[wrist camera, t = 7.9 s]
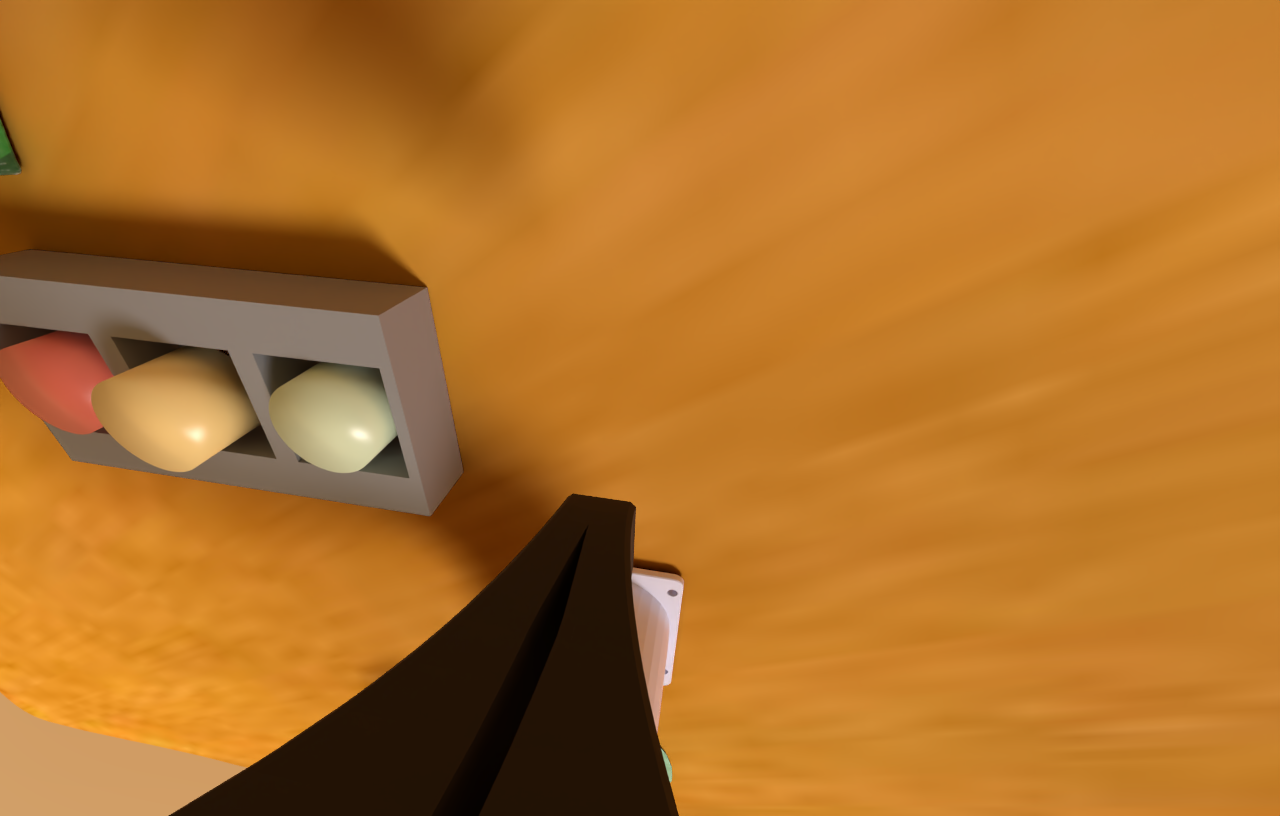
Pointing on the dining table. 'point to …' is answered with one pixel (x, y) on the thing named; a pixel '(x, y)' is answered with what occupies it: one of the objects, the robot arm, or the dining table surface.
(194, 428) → the ochre button
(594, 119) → the dining table surface
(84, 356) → the red button
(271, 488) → the grey compartment tray
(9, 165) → the chalk box
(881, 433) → the dining table surface
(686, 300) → the dining table surface
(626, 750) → the robot arm
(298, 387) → the sage button
